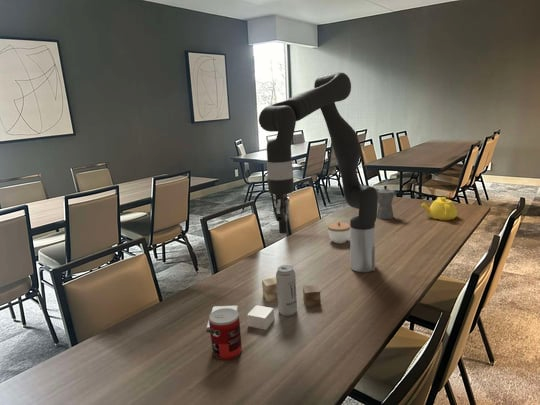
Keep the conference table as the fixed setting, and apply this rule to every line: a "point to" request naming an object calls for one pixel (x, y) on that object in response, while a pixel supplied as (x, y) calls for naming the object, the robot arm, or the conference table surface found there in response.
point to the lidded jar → (339, 232)
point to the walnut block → (311, 295)
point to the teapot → (441, 209)
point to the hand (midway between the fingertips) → (283, 232)
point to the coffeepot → (385, 203)
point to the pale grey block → (260, 317)
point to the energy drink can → (286, 290)
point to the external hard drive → (221, 308)
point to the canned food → (225, 333)
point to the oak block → (269, 289)
